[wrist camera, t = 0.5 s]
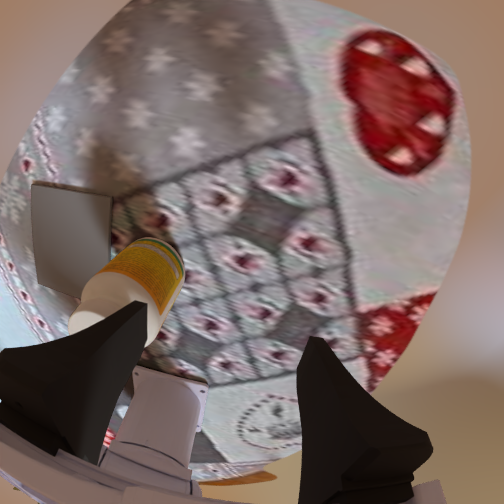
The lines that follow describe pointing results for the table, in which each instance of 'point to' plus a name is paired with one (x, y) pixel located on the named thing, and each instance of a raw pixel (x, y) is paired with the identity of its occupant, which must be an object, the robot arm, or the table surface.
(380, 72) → the table surface
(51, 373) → the robot arm
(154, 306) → the supplement bottle
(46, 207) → the mat
